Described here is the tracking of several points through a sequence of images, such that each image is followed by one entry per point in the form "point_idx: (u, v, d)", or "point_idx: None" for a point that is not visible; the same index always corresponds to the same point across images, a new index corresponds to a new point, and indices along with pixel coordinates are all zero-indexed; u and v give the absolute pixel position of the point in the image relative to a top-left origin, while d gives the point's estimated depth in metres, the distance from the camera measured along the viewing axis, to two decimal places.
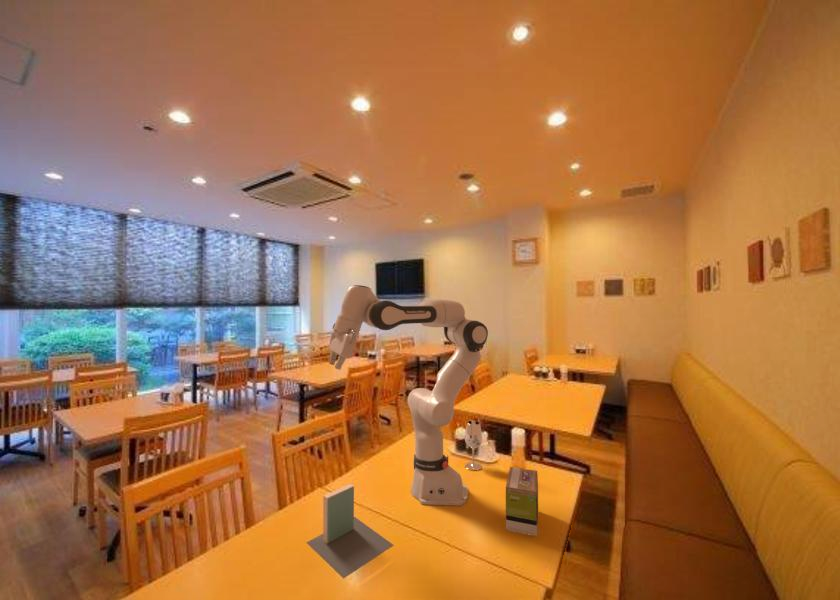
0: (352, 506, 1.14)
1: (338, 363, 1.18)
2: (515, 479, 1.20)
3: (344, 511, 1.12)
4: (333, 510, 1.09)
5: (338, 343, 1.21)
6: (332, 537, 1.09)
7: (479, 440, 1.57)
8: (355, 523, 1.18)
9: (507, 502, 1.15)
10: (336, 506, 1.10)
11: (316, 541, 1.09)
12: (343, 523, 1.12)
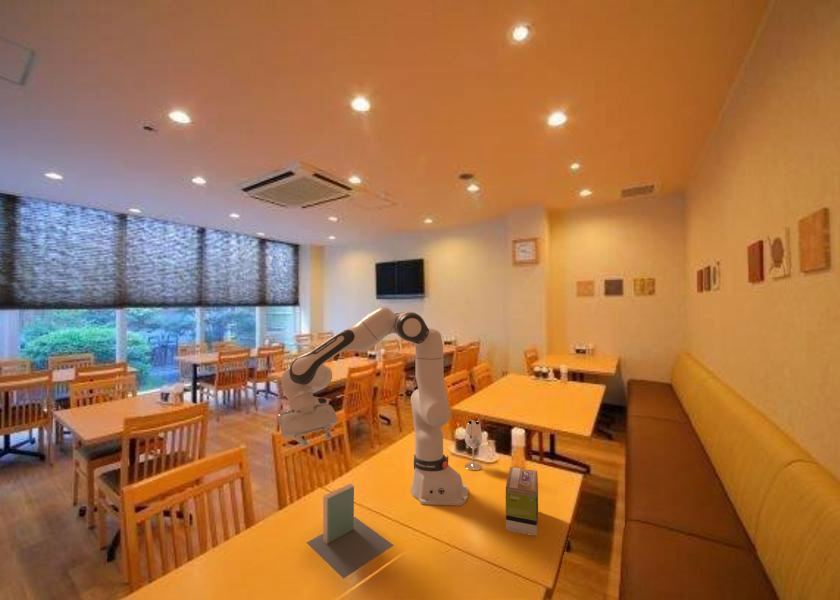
0: (352, 506, 1.14)
1: (300, 442, 1.19)
2: (515, 479, 1.20)
3: (344, 511, 1.12)
4: (333, 510, 1.09)
5: None
6: (332, 537, 1.09)
7: (479, 440, 1.57)
8: (355, 523, 1.18)
9: (507, 502, 1.15)
10: (336, 506, 1.10)
11: (316, 541, 1.09)
12: (343, 523, 1.12)
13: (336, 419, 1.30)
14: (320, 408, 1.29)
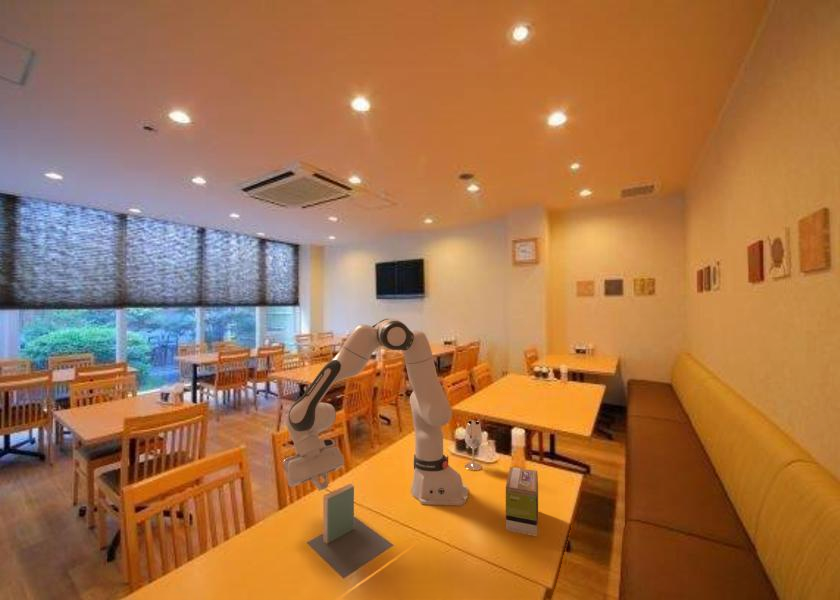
0: (352, 506, 1.14)
1: (316, 485, 1.18)
2: (515, 479, 1.20)
3: (344, 511, 1.12)
4: (333, 510, 1.09)
5: None
6: (332, 537, 1.09)
7: (479, 440, 1.57)
8: (355, 523, 1.18)
9: (507, 502, 1.15)
10: (336, 506, 1.10)
11: (316, 541, 1.09)
12: (343, 523, 1.12)
13: (343, 462, 1.27)
14: (326, 451, 1.26)
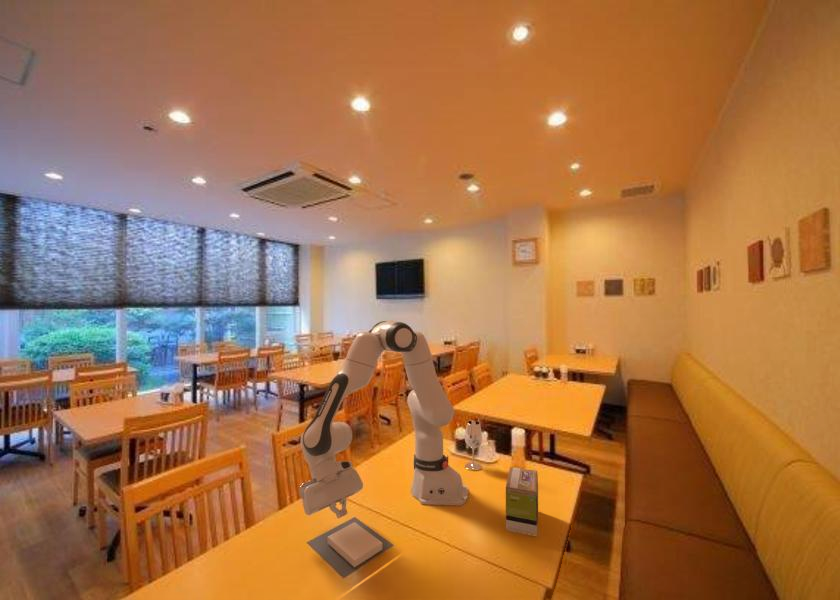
0: None
1: (335, 512, 1.11)
2: (515, 479, 1.20)
3: None
4: None
5: None
6: None
7: (479, 440, 1.57)
8: None
9: (507, 502, 1.15)
10: None
11: (316, 541, 1.09)
12: None
13: (361, 485, 1.19)
14: (344, 474, 1.18)
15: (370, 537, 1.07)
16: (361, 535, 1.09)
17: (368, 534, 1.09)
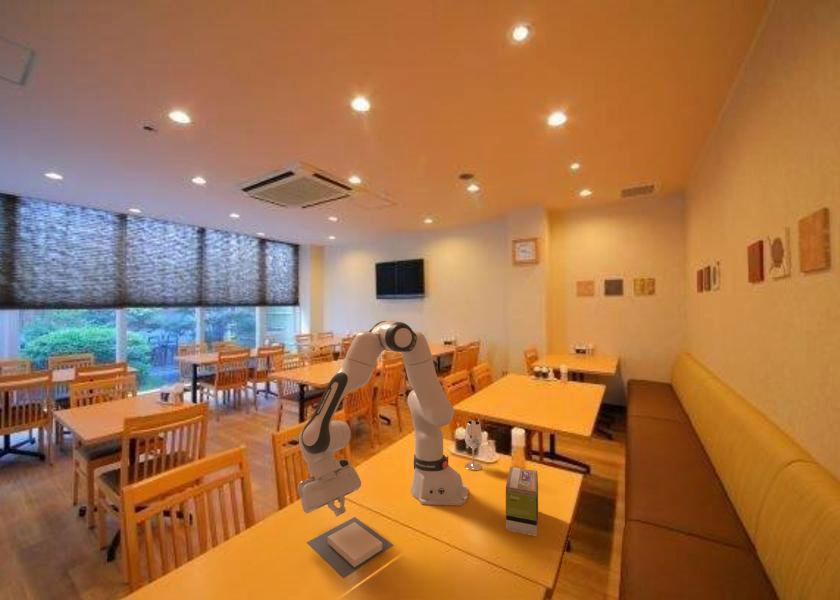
0: None
1: (333, 510, 1.11)
2: (515, 479, 1.20)
3: None
4: None
5: None
6: None
7: (479, 440, 1.57)
8: None
9: (507, 502, 1.15)
10: None
11: (316, 541, 1.09)
12: None
13: (359, 483, 1.20)
14: (342, 472, 1.19)
15: (370, 537, 1.07)
16: (361, 535, 1.09)
17: (368, 534, 1.09)
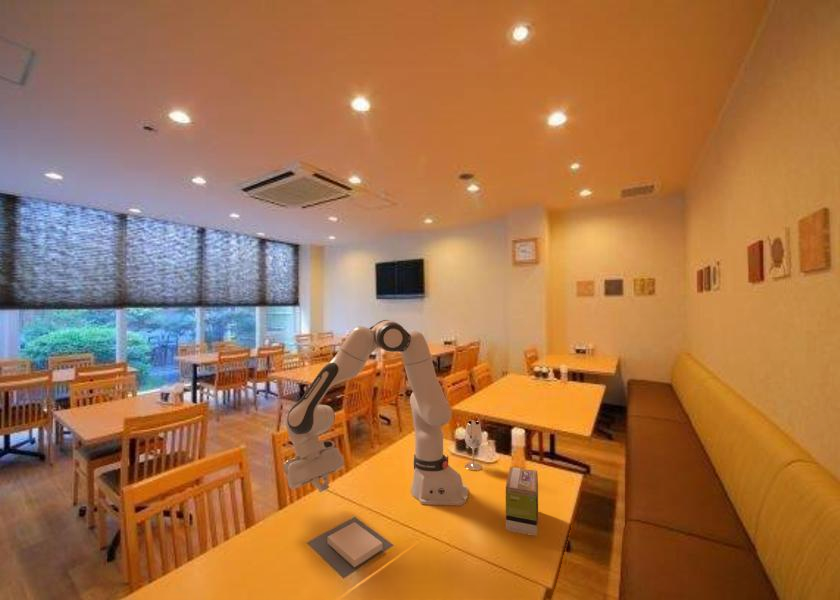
0: None
1: (317, 487, 1.19)
2: (515, 479, 1.20)
3: None
4: None
5: None
6: None
7: (479, 440, 1.57)
8: None
9: (507, 502, 1.15)
10: None
11: (316, 541, 1.09)
12: None
13: (343, 463, 1.28)
14: (326, 452, 1.27)
15: (370, 537, 1.07)
16: (361, 535, 1.09)
17: (368, 534, 1.09)
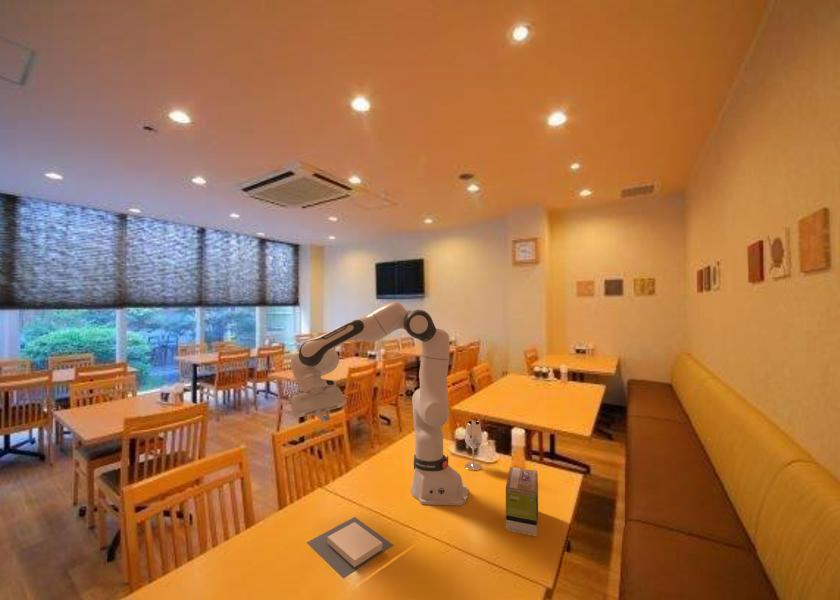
0: None
1: (320, 418, 1.27)
2: (515, 479, 1.20)
3: None
4: None
5: None
6: None
7: (479, 440, 1.57)
8: None
9: (507, 502, 1.15)
10: None
11: (316, 541, 1.09)
12: None
13: (344, 400, 1.36)
14: (328, 389, 1.35)
15: (370, 537, 1.07)
16: (361, 535, 1.09)
17: (368, 534, 1.09)
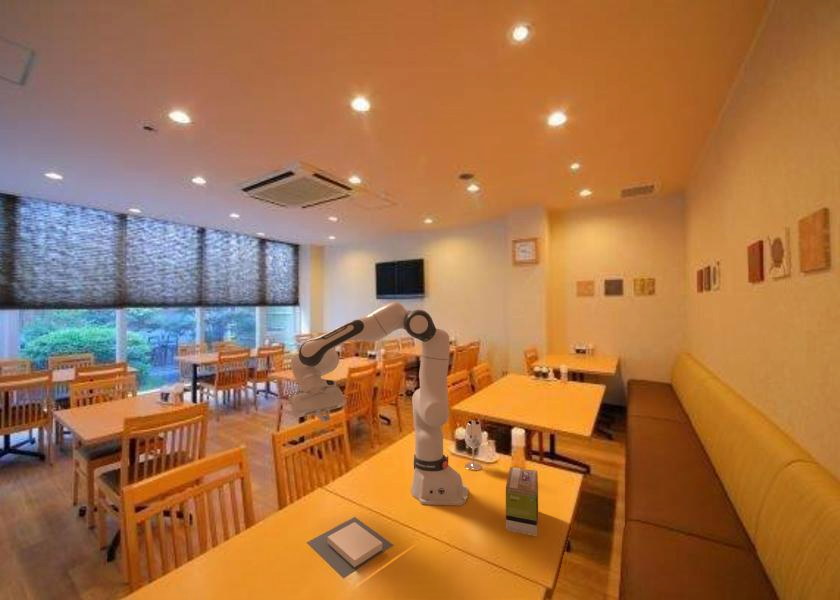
0: None
1: (320, 418, 1.27)
2: (515, 479, 1.20)
3: None
4: None
5: None
6: None
7: (479, 440, 1.57)
8: None
9: (507, 502, 1.15)
10: None
11: (316, 541, 1.09)
12: None
13: (344, 400, 1.36)
14: (328, 389, 1.35)
15: (370, 537, 1.07)
16: (361, 535, 1.09)
17: (368, 534, 1.09)
